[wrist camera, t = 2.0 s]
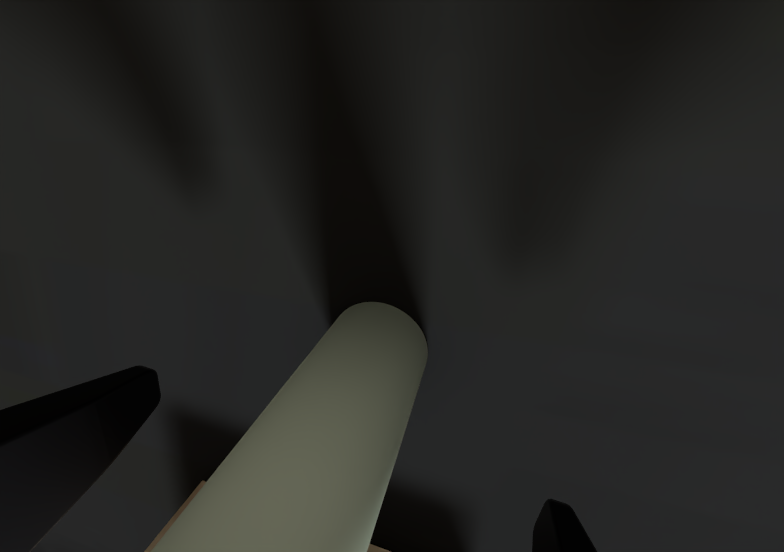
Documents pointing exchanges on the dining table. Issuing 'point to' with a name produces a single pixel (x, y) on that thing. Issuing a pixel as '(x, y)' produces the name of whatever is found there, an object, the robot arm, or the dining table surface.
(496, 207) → the dining table surface
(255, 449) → the peg
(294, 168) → the dining table surface
